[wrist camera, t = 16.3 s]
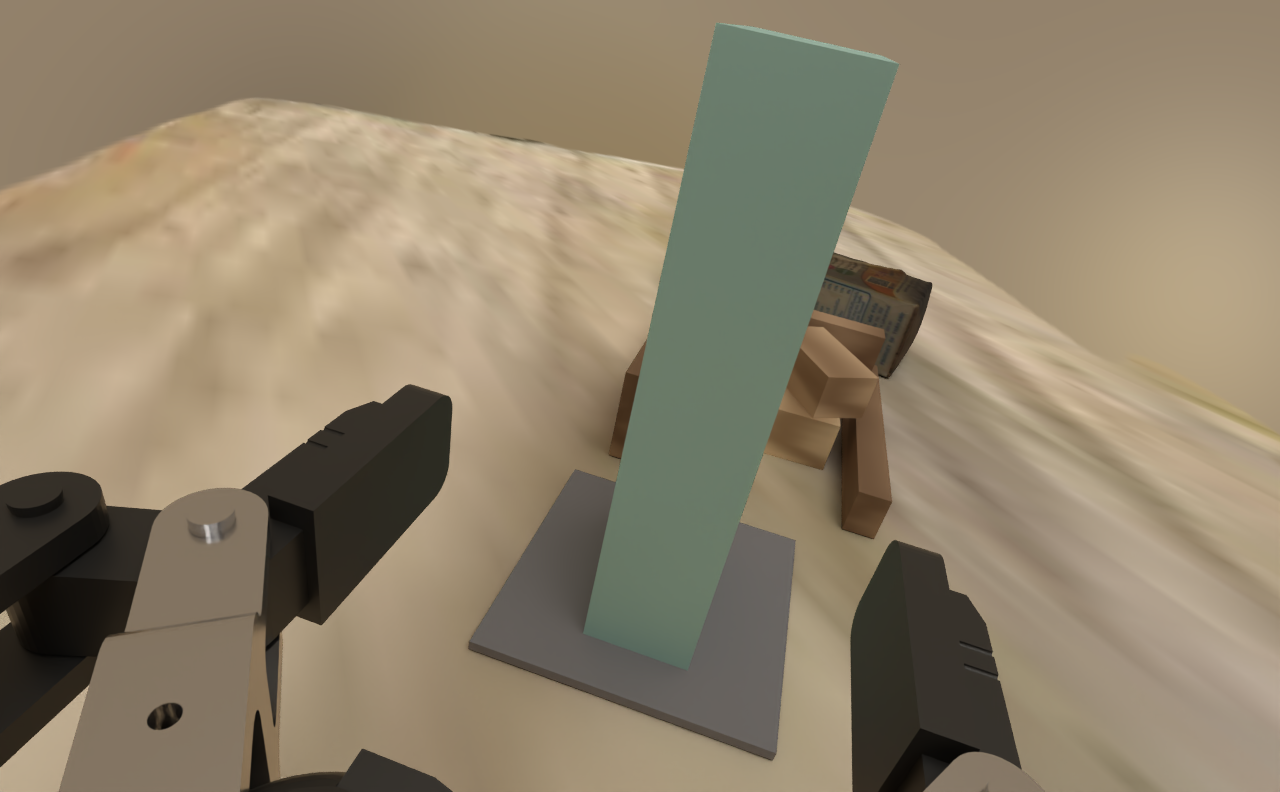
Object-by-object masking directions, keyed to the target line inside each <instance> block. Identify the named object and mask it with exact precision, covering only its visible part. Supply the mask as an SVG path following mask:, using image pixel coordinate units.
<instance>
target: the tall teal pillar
mask: <svg viewBox="0 0 1280 792" xmlns="http://www.w3.org/2000/svg"><path fill="white" fill-rule="evenodd" d="M898 66H899V64H898V63H896V62H894V61H892V60H890V59H888V58H886V57H883V56H881V55H876V54H872V53H867V52H863V51H858V50H853V49H849V48H845V47H840V46H836V45H832V44H827V43H822V42H818V41H814V40H809V39H804V38H800V37H796V36H792V35H787V34H782V33H778V32H774V31H769V30H765V29H760V28H756V27H751V26H741V25H733V24H723V23H716V26H715V31H714V35H713V40H712V45H711V50H710V54H709V58H708V63H707V68H706V72H705V77H704V81H703V86H702V91H701V95H700V100H699V104H698V109H697V113H696V118H695V123H694V127H693V132H692V136H691V141H690V145H689V150H688V155H687V160H686V164H685V168H684V173H683V178H682V182H681V187H680V191H679V196H678V201H677V205H676V210H675V214H674V219H673V223H672V228H671V233H670V237H669V242H668V246H667V251H666V256H665V260H664V265H663V269H662V274H661V278H660V283H659V288H658V292H657V297H656V301H655V306H654V311H653V315H652V320H651V324H650V329H649V333H648V338H647V343H646V347H645V352H644V356H643V361H642V366H641V370H640V375H639V379H638V384H637V389H636V393H635V398H634V402H633V407H632V411H631V416H630V421H629V425H628V430H627V434H626V439H625V444H624V448H623V453H622V457H621V462H620V466H619V471H618V476H617V480H616V485H615V489H614V494H613V499H612V503H611V508H610V512H609V517H608V522H607V526H606V531H605V535H604V540H603V544H602V549H601V554H600V558H599V563H598V567H597V572H596V577H595V581H594V586H593V590H592V595H591V599H590V604H589V609H588V613H587V618H586V622H585V627H584V632H583V634H586V635H589V636H591V637H594V638H597V639H600V640H603V641H605V642H608V643H611V644H614V645H617V646H620V647H622V648H625V649H628V650H631V651H634V652H636V653H639V654H642V655H645V656H648V657H650V658H653V659H656V660H659V661H662V662H665V663H667V664H670V665H673V666H676V667H679V668H681V669H684V670H687V671H688V668H689V665H690V662H691V659H692V656H693V653H694V650H695V648H696V645H697V642H698V639H699V636H700V633H701V630H702V628H703V625H704V622H705V619H706V616H707V613H708V610H709V608H710V605H711V602H712V599H713V596H714V593H715V590H716V587H717V585H718V582H719V579H720V576H721V573H722V570H723V567H724V565H725V562H726V559H727V556H728V553H729V550H730V547H731V544H732V542H733V539H734V536H735V533H736V530H737V527H738V524H739V522H740V519H741V516H742V513H743V510H744V507H745V504H746V502H747V499H748V496H749V493H750V490H751V487H752V484H753V481H754V479H755V476H756V473H757V470H758V467H759V464H760V461H761V459H762V456H763V453H764V450H765V447H766V444H767V441H768V439H769V436H770V433H771V430H772V427H773V424H774V421H775V418H776V416H777V413H778V410H779V407H780V404H781V401H782V398H783V396H784V393H785V390H786V387H787V384H788V381H789V378H790V376H791V373H792V370H793V367H794V364H795V361H796V358H797V355H798V353H799V350H800V347H801V344H802V341H803V338H804V335H805V333H806V330H807V327H808V324H809V321H810V318H811V315H812V313H813V310H814V307H815V304H816V301H817V298H818V295H819V292H820V290H821V287H822V284H823V281H824V278H825V275H826V272H827V270H828V267H829V264H830V261H831V258H832V255H833V252H834V250H835V247H836V244H837V241H838V238H839V235H840V232H841V229H842V227H843V224H844V221H845V218H846V215H847V212H848V209H849V207H850V204H851V201H852V198H853V195H854V192H855V189H856V186H857V183H858V181H859V178H860V175H861V172H862V169H863V166H864V164H865V160H866V157H867V155H868V152H869V149H870V146H871V144H872V141H873V138H874V135H875V132H876V129H877V126H878V123H879V121H880V117H881V115H882V112H883V109H884V106H885V103H886V101H887V98H888V95H889V92H890V89H891V86H892V83H893V80H894V77H895V75H896V72H897V69H898Z"/></svg>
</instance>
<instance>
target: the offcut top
mask: <svg viewBox="0 0 1280 792" xmlns="http://www.w3.org/2000/svg"><path fill="white" fill-rule="evenodd" d="M878 379H879V378H878V377H877V376H876V375H875V374H874V373H873V372H871V371H870V370H869V369H868V368H867V367H866V366H865V365H864V364H863V363H862V362H861V361H860V360H858V359H857V358H856V357H855V356H854V355H853V354H852V353H851V352H850V351H849V350H848V349H847V348H845V347H844V346H843V345H842V344H841V343H840V342H839V341H838V340H837V339H836V338H835V337H834V336H832V335H831V334H830V333H829V332H828V331H827V330H826V329H825V328H824V327H810V326H808V327H807V330H806V333H805V335H804V338H803V341H802V344H801V347H800V350H799V353H798V355H797V358H796V361H795V364H794V367H793V370H792V373H791V376H790V378H789V381H788V384H787V387H786V388H787V389H788V390H789V391H790V392H791V393H792V395H793V396H794V397H795V398H796V399H797V400H798V402H799V403H800V404H801V405H802V406H803V407H804V409H805V410H806V411H807V412H808V413H809V414H810V416H811V417H812V418H862V416H863V414H864V412H865V409H866V407H867V405H868V403H869V400H870V398H871V396H872V393H873V391H874V389H875V386H876V384H877V382H878Z"/></svg>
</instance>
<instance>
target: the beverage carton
mask: <svg viewBox="0 0 1280 792" xmlns="http://www.w3.org/2000/svg"><path fill="white" fill-rule="evenodd" d="M931 290H932V283H931V282H925V281H923V280H920V279H917V278H914V277H911V276H908V275H906V273H905V272H903V271H902V270H899V269H893V268H887V267H883V266H878V265H873V264H869V263H867V262H863V261H860V260H856V259H852V258H849V257H846V256H843V255H840V254H837V253H834V252H833V255H832V258H831V261H830V264H829V267H828V270H827V272H826V275H825V278H824V281H823V284H822V287H821V290H820V292H819V295H818V298H817V301H816V304H815V307H814V310H816V311H820V312H823V313H827V314H830V315H834V316H838V317H841V318H845V319H848V320H852V321H856V322H859V323H863V324H867V325H870V326H874V327H877V328H881V329H884V333H885V341H884V343H883V346H882V348H881V350H880V353H879V355H878V358H877V360H876V362H875V365H876V366H877V369H878V374H879V375H881V376H884V377H887V378H888V377H890V376H891V374H892V373H893V372H894V370H895V369H896V368H897V366H898V365H899V363H900V362H901V360H902V359H903V357H904V356H905V354H906V353H907V351H908V349H909V348H910V346H911V344H912V343H913V341H914V339H915V337H916V335H917V333H918V330H919V328H920V325H921V323H922V320H923V317H924V314H925V311H926V308H927V304H928V301H929V297H930V293H931Z"/></svg>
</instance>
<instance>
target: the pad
mask: <svg viewBox="0 0 1280 792" xmlns="http://www.w3.org/2000/svg"><path fill="white" fill-rule="evenodd" d="M615 485H616V482H613V481H610V480H607V479H604V478H601V477H597V476H594V475H591V474H588V473H585V472H582V471H579V470H576V469H575V470H574V472H573V474H572V475H571V477H570V478H569V480H568V482H567V483H566V485H565V487H564V488H563V490H562V491H561V493H560V495H559V496H558V498H557V500H556V501H555V503H554V504H553V506H552V508H551V509H550V511H549V513H548V514H547V516H546V517H545V519H544V521H543V522H542V524H541V526H540V527H539V529H538V530H537V532H536V534H535V535H534V537H533V539H532V540H531V542H530V543H529V545H528V547H527V548H526V550H525V552H524V553H523V555H522V557H521V558H520V560H519V561H518V563H517V565H516V566H515V568H514V570H513V571H512V573H511V574H510V576H509V578H508V579H507V581H506V583H505V584H504V586H503V587H502V589H501V591H500V592H499V594H498V596H497V597H496V599H495V600H494V602H493V604H492V605H491V607H490V609H489V610H488V612H487V613H486V615H485V617H484V618H483V620H482V622H481V623H480V625H479V626H478V628H477V630H476V631H475V633H474V635H473V636H472V638H471V640H470V641H469V649H471V650H473V651H476V652H479V653H482V654H484V655H487V656H490V657H492V658H495V659H498V660H501V661H503V662H506V663H509V664H511V665H514V666H517V667H520V668H522V669H525V670H528V671H531V672H533V673H536V674H539V675H541V676H544V677H547V678H550V679H552V680H555V681H558V682H561V683H563V684H566V685H569V686H571V687H574V688H577V689H580V690H582V691H585V692H588V693H590V694H593V695H596V696H599V697H601V698H604V699H607V700H610V701H612V702H615V703H618V704H620V705H623V706H626V707H629V708H631V709H634V710H637V711H640V712H642V713H645V714H648V715H650V716H653V717H656V718H659V719H661V720H664V721H667V722H669V723H672V724H675V725H678V726H680V727H683V728H686V729H689V730H691V731H694V732H697V733H699V734H702V735H705V736H708V737H710V738H713V739H716V740H719V741H721V742H724V743H727V744H729V745H732V746H735V747H738V748H740V749H743V750H746V751H749V752H751V753H754V754H757V755H759V756H762V757H765V758H768V759H770V760H773V759H774V757H775V755H776V751H777V740H778V729H779V718H780V707H781V696H782V685H783V674H784V662H785V651H786V640H787V629H788V618H789V607H790V596H791V585H792V574H793V563H794V552H795V541H796V540H793V539H790V538H786V537H783V536H780V535H777V534H774V533H771V532H768V531H765V530H762V529H759V528H755V527H752V526H749V525H746V524H743V523H740V522H739V524H738V527H737V530H736V533H735V536H734V539H733V542H732V544H731V547H730V550H729V553H728V556H727V559H726V562H725V565H724V567H723V570H722V573H721V576H720V579H719V582H718V585H717V587H716V590H715V593H714V596H713V599H712V602H711V605H710V608H709V610H708V613H707V616H706V619H705V622H704V625H703V628H702V630H701V633H700V636H699V639H698V642H697V645H696V648H695V650H694V653H693V656H692V659H691V662H690V665H689V668H688V671H687V670H684V669H681V668H679V667H676V666H673V665H670V664H667V663H665V662H662V661H659V660H656V659H653V658H650V657H648V656H645V655H642V654H639V653H636V652H634V651H631V650H628V649H625V648H622V647H620V646H617V645H614V644H611V643H608V642H605V641H603V640H600V639H597V638H594V637H591V636H589V635H586V634H583V632H584V627H585V622H586V618H587V613H588V609H589V604H590V599H591V595H592V590H593V586H594V581H595V577H596V572H597V567H598V563H599V558H600V554H601V549H602V544H603V540H604V535H605V531H606V526H607V522H608V517H609V512H610V508H611V503H612V499H613V494H614V489H615Z"/></svg>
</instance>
